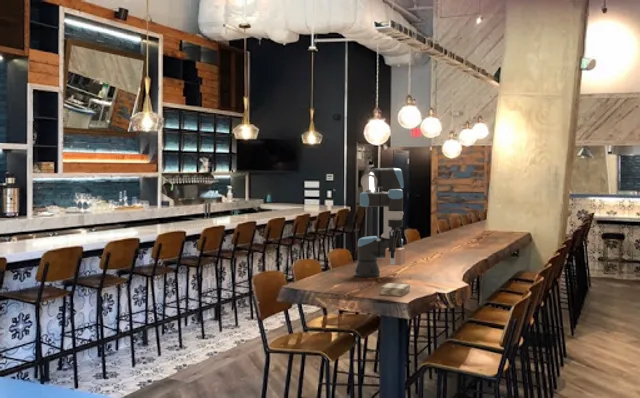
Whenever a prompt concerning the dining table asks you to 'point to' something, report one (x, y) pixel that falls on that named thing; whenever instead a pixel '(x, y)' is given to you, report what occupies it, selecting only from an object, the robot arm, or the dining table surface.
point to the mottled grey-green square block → (395, 289)
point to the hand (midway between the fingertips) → (395, 263)
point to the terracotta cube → (399, 256)
